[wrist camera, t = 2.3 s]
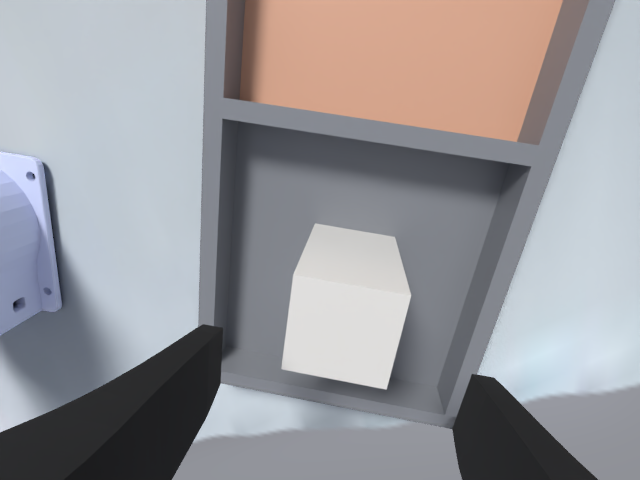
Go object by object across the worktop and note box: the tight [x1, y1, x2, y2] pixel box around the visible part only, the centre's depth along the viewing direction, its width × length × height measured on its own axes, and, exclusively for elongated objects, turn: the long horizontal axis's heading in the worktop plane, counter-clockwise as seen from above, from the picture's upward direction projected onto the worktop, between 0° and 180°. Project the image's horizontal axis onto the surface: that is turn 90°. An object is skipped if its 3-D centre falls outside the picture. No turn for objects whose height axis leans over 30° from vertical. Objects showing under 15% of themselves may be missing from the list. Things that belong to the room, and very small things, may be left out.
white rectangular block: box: [281, 223, 411, 390], centre depth 15 cm, size 4×4×6 cm
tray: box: [198, 0, 615, 429], centre depth 15 cm, size 28×14×3 cm, turn 172°
